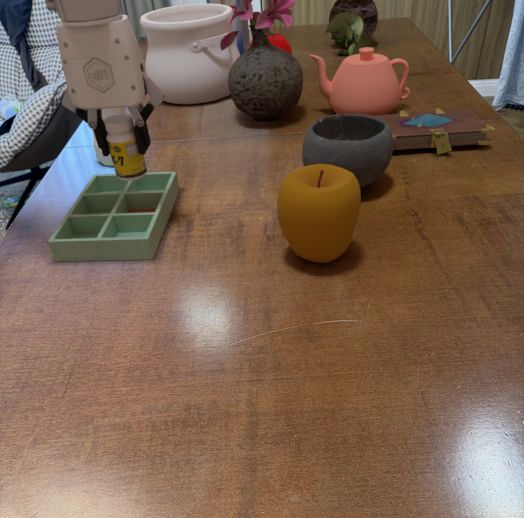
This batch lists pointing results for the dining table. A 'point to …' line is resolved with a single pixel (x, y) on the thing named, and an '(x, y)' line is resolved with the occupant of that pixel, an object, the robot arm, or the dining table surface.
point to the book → (437, 129)
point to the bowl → (350, 145)
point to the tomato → (278, 42)
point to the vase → (264, 66)
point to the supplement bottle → (124, 148)
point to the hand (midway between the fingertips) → (126, 150)
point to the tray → (116, 219)
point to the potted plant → (353, 24)
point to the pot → (189, 52)
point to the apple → (319, 210)
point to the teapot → (363, 84)
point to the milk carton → (237, 23)
